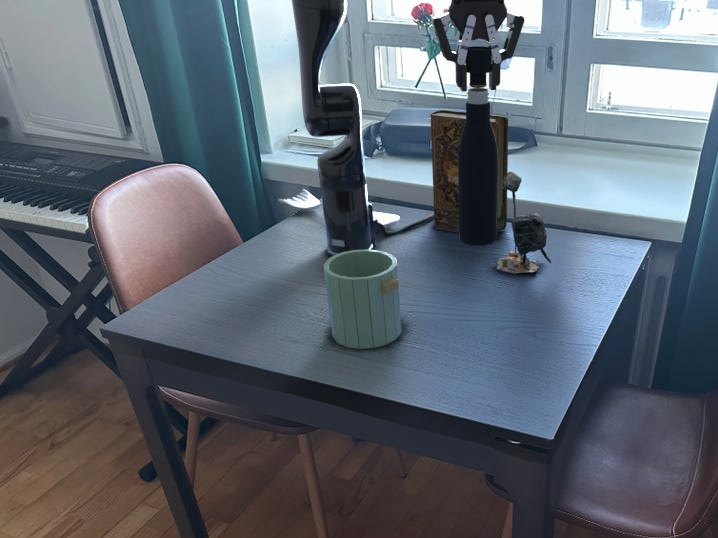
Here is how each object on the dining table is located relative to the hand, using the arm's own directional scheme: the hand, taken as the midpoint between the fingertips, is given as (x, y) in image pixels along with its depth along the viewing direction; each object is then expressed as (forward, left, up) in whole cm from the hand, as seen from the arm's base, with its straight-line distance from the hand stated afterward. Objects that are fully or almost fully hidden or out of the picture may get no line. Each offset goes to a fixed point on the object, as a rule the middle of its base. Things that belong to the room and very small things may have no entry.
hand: (477, 89), depth 106 cm
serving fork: (-16, -54, -38) cm, 67 cm away
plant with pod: (-19, -4, -38) cm, 42 cm away
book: (-29, -26, -38) cm, 54 cm away
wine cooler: (+18, -10, -38) cm, 43 cm away
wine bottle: (0, 0, -24) cm, 24 cm away
